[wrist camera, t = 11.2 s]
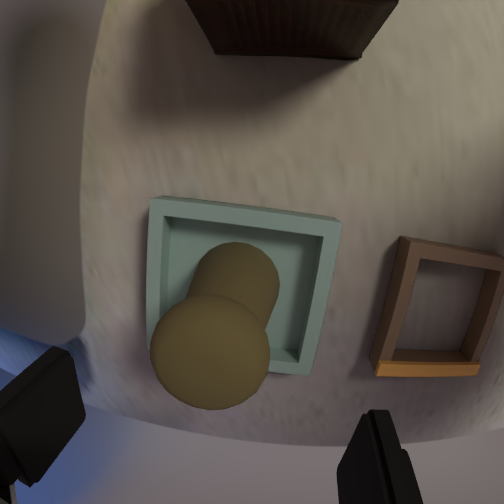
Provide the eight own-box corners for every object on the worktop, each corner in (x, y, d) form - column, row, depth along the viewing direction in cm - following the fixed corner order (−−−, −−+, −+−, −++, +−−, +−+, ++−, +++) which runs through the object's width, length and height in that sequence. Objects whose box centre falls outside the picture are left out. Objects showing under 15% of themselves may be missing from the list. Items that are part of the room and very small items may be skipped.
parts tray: (335, 217, 21) (342, 222, 19) (307, 358, 24) (309, 375, 22) (163, 195, 22) (150, 198, 20) (157, 335, 25) (146, 349, 22)
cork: (265, 333, 23) (254, 444, 12) (186, 309, 23) (124, 402, 12) (291, 256, 22) (303, 333, 11) (205, 230, 22) (138, 283, 11)
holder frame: (498, 254, 21) (515, 262, 18) (464, 361, 23) (476, 375, 21) (400, 235, 21) (413, 242, 19) (368, 358, 24) (376, 376, 21)
